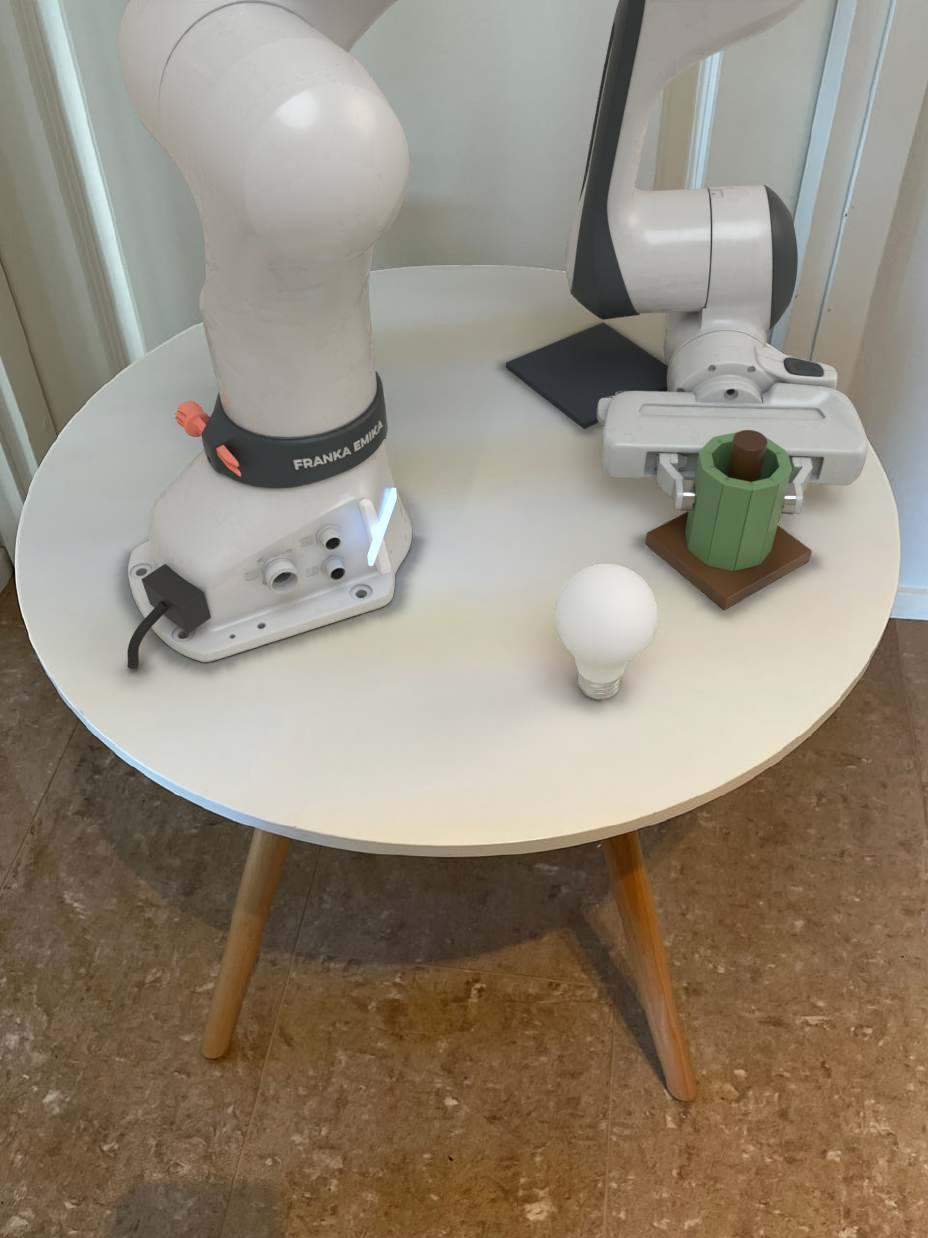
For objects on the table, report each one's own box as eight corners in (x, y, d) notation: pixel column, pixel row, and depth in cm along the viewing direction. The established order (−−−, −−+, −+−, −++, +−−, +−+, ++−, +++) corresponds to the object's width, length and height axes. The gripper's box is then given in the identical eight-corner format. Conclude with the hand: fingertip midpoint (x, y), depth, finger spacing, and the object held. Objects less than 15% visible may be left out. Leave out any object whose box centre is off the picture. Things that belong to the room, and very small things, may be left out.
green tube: (727, 583, 79) (745, 501, 73) (667, 533, 83) (680, 452, 77) (788, 548, 81) (811, 467, 76) (727, 502, 85) (744, 421, 79)
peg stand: (724, 610, 79) (749, 497, 71) (644, 543, 84) (659, 431, 76) (809, 561, 82) (843, 448, 74) (727, 500, 87) (750, 388, 79)
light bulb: (641, 735, 71) (659, 624, 63) (543, 720, 72) (548, 609, 64) (649, 661, 76) (667, 548, 67) (557, 648, 77) (563, 536, 69)
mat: (584, 429, 94) (584, 423, 94) (505, 367, 101) (505, 362, 101) (685, 383, 99) (685, 377, 98) (603, 327, 106) (603, 321, 105)
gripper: (599, 360, 86) (600, 467, 77) (855, 366, 85) (889, 476, 75) (594, 423, 91) (595, 532, 81) (837, 430, 89) (866, 541, 80)
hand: (738, 505), depth 78 cm, fingers closed on green tube, 6 cm apart
